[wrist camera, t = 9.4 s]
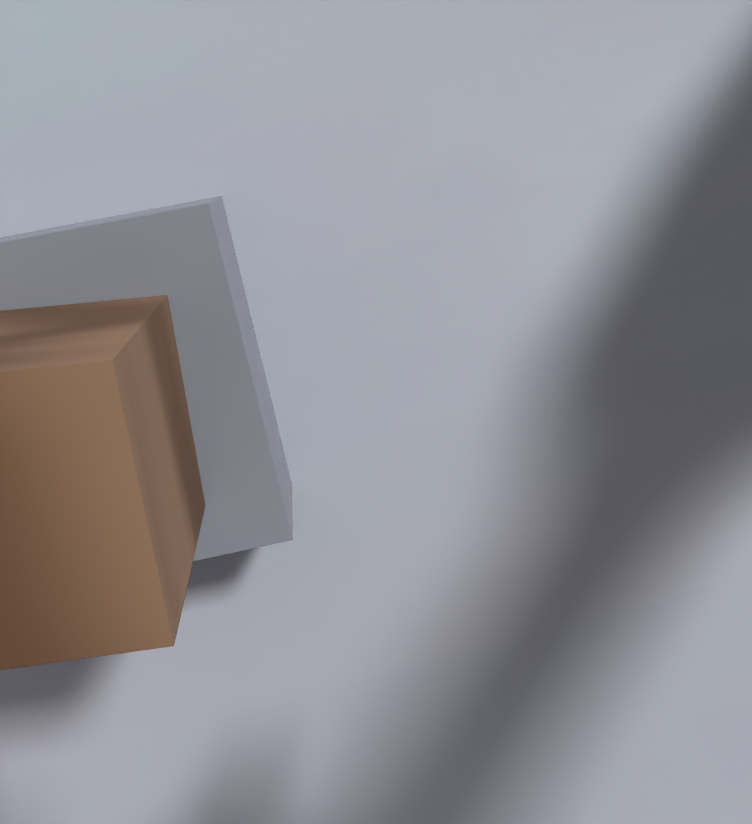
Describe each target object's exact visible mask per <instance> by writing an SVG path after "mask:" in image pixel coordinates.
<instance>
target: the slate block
mask: <svg viewBox="0 0 752 824" xmlns="http://www.w3.org/2000/svg"><path fill="white" fill-rule="evenodd" d="M163 295H168V301H169V306H170V312H171V317H172V323H173V328H174V334H175V339H176V345H177V350H178V356H179V361H180V367H181V372H182V378H183V384H184V389H185V395H186V400H187V406H188V411H189V417H190V422H191V428H192V433H193V439H194V444H195V450H196V455H197V461H198V467H199V472H200V478H201V483H202V489H203V494H204V500H205V505H206V506H205V511H204V515H203V520H202V524H201V528H200V533H199V537H198V542H197V546H196V550H195V555H194V559H193V561H197V560H202V559H206V558H211V557H216V556H220V555H225V554H230V553H234V552H239V551H243V550H248V549H253V548H257V547H262V546H266V545H271V544H276V543H280V542H285V541H290V540H293V525H292V483H291V479H290V475H289V471H288V467H287V463H286V458H285V454H284V450H283V446H282V442H281V438H280V434H279V430H278V426H277V422H276V417H275V413H274V409H273V405H272V401H271V397H270V393H269V389H268V385H267V380H266V376H265V372H264V368H263V364H262V360H261V356H260V352H259V348H258V344H257V339H256V335H255V331H254V327H253V323H252V319H251V315H250V311H249V307H248V303H247V298H246V294H245V290H244V286H243V282H242V278H241V274H240V270H239V266H238V262H237V257H236V253H235V249H234V245H233V241H232V237H231V233H230V229H229V225H228V221H227V216H226V212H225V208H224V204H223V200H222V196H219V197H214V198H209V199H203V200H198V201H193V202H188V203H182V204H177V205H172V206H166V207H161V208H156V209H150V210H145V211H140V212H134V213H129V214H124V215H118V216H113V217H108V218H102V219H97V220H92V221H86V222H81V223H76V224H70V225H65V226H60V227H55V228H49V229H44V230H39V231H33V232H28V233H23V234H17V235H12V236H7V237H1V238H0V311H3V310H14V309H25V308H35V307H46V306H56V305H67V304H78V303H88V302H99V301H110V300H120V299H131V298H141V297H152V296H163Z"/></svg>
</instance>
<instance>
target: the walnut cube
mask: <svg viewBox="0 0 752 824" xmlns="http://www.w3.org/2000/svg"><path fill="white" fill-rule="evenodd" d="M205 506H206V505H205V500H204V494H203V489H202V483H201V478H200V472H199V467H198V461H197V455H196V450H195V444H194V439H193V433H192V428H191V422H190V417H189V411H188V406H187V400H186V395H185V389H184V384H183V378H182V372H181V367H180V361H179V356H178V350H177V345H176V339H175V334H174V328H173V323H172V317H171V312H170V306H169V301H168V295H163V296H152V297H141V298H131V299H120V300H110V301H99V302H88V303H78V304H67V305H56V306H46V307H35V308H25V309H14V310H3V311H0V670H5V669H12V668H19V667H26V666H33V665H40V664H48V663H55V662H62V661H69V660H76V659H83V658H91V657H98V656H105V655H112V654H119V653H126V652H134V651H141V650H148V649H155V648H162V647H169V646H174V643H175V639H176V634H177V630H178V625H179V621H180V617H181V612H182V608H183V603H184V599H185V595H186V590H187V586H188V581H189V577H190V573H191V568H192V564H193V559H194V555H195V550H196V546H197V542H198V537H199V533H200V528H201V524H202V520H203V515H204V511H205Z"/></svg>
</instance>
